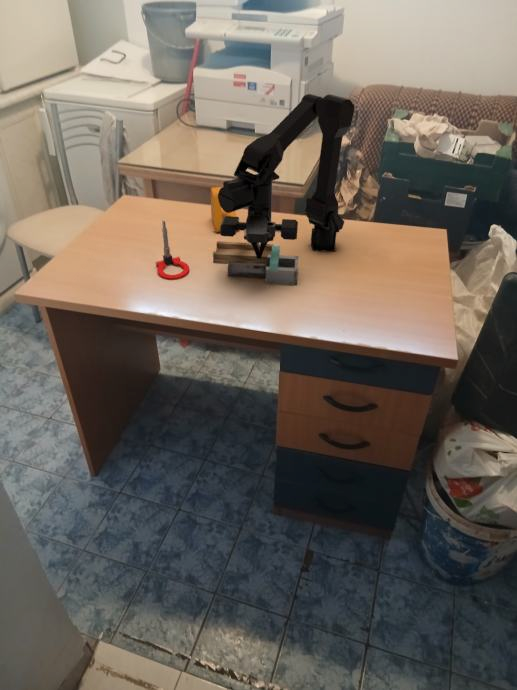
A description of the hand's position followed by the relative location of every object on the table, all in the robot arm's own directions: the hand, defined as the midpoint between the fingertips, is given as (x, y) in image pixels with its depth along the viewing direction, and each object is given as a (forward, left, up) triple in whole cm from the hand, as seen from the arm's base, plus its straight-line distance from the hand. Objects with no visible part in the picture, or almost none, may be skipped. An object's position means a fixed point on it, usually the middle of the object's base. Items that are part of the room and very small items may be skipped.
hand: (259, 258), depth 131 cm
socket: (-6, 0, -5) cm, 8 cm away
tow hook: (+23, 0, -6) cm, 24 cm away
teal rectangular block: (-4, 0, -1) cm, 4 cm away
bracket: (+13, -28, -5) cm, 31 cm away
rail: (+5, -9, -5) cm, 11 cm away
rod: (+1, 0, -5) cm, 5 cm away
